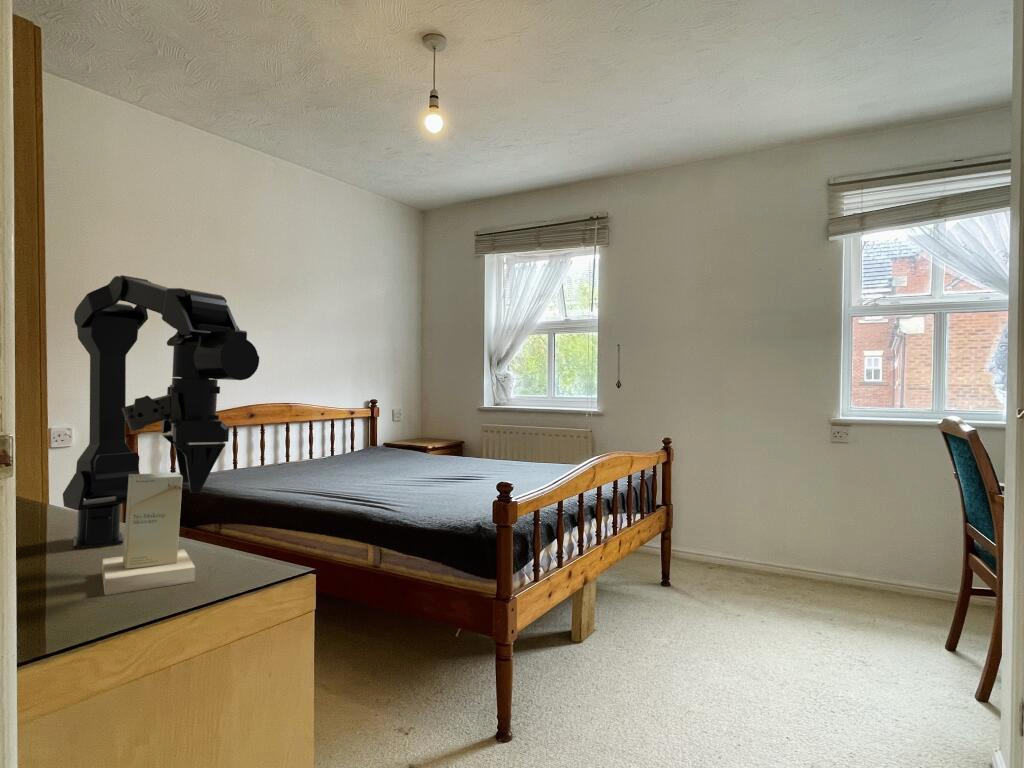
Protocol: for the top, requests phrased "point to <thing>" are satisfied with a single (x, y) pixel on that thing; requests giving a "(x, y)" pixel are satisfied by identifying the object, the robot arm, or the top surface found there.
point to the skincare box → (152, 519)
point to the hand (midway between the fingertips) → (190, 487)
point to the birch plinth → (145, 574)
